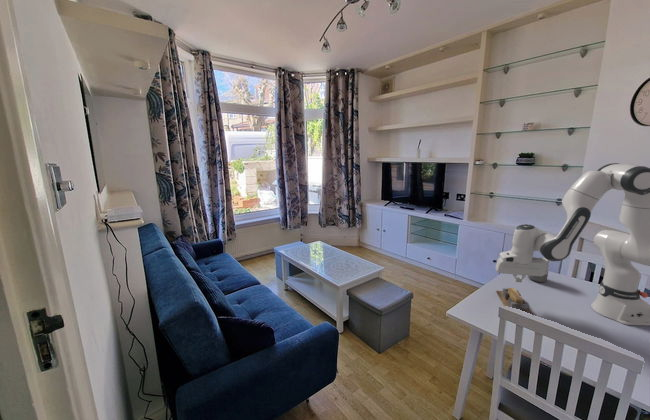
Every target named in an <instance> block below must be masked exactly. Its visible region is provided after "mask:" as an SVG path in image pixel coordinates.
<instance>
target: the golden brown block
mask: <svg viewBox="0 0 650 420" xmlns="http://www.w3.org/2000/svg"><path fill="white" fill-rule="evenodd" d="M507 289H508V298H511V299H512V300H513V302H515V303H523V298H522V296H520V295H521V294H520V295H519V294H518V292H519V291H518V292H517V291H516V290H517V289H516V288H514V287H507Z"/></svg>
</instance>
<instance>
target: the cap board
mask: <svg viewBox="0 0 650 420" xmlns="http://www.w3.org/2000/svg"><path fill="white" fill-rule="evenodd" d="M516 291H517V292H518V294H519V295H520V296H521V293H520V292H519V290H518V289H516ZM495 293H496V294H497V296H498V297H499V299H500V301H501V303H502V305H503V306H508V307H512V308H516V309H520V310H522V311H525V312H527V313H530V314H533V313H532V312H531V310H530V309H529V305H528V303H527V302H526V300H525V299H523V298H522V299H523V303H515V302H513V300H512V299H511V298H508V288H503V287H502V290H496V291H495ZM521 297H522V296H521Z"/></svg>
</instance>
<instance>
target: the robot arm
mask: <svg viewBox="0 0 650 420" xmlns="http://www.w3.org/2000/svg"><path fill="white" fill-rule="evenodd" d="M610 190H617V191H623V192H624V198H623V201H622V204H621V208H620V212H619V216H618V220H619V222H620V224H621V225H622V226H623V227H624V228H626V229H627V231H628V233H626V232H623V231H618V230H613V229H611V230H610V229H602V230H600V231H598V232H597V233H596V234H595V235H594V237H593V244H594V246H595V248H597V249H598V251H599V252H600V253H601V255H602V257H603V260H604V265H605V266H604V274H603V279H602V280H601V282H600V284H599V287H598V293H597V296H596V298H595V299H594V300H593V302H592V303H591V305H590V308H591V309H592V310H593V311H594V312H596V313H597V314H599V315H601V316H604V317H605V318H608V319H611V320H614V321H616V322H618V323H621V324H623V325H627V326H629V325H630V326H646V327H647V326H649V327H650V303H648V302H646V301H645V300H644V298H645V299H646V298H648V297H649V294H647V293H646V292H644V291H641V289H639V285H640V282H641V278H642V274H641V273H640V271H639V269H637V268H636V267H635V266H634V265H633V264H632V262H634V263H636V264H639V265H643V266H649V267H650V167H647V166H643V165H637V164H634V163H633V164H632V163H617V162H615V163H614V162H612V163H608V164H605V165H602V166H601V167H599V168H598V169H597V170H594V169H593V170H588V171H586V172H585V173H583V174H582V175H580V177H579V178H578V179H577V180H576V181H574V183H573V184H572V185H571V186H570V187H569V188H568V190H567V191H566V192H565V194H564V196H563V197H562V200H561V205H562V208H563V209H564V211H565V213H566V221H565V223H564V225H563V226H562V227H561V229H560V230H559V232H558V234H557V235H554V234H553V233H551V232H549V231H547V230H543V229H539V228H537V227H536V226H535V225H532V224H525V223H524V224H519V225H517V226H516V227H515V229H514V232H513V235H512V242H511V243H512V247H511V249H510V250H506V251H502V252H500V253H499V258H497V261H496V264H495V271H496V272H497V273H498V274H503V275H504V274H506V275H512V277H513V281H514V282H515V283H523V280H524V279H525V278H526V277H527V276H528V275H530V276H543V275H544V274H545V265H546V260H545V259H543V258H546V259H547V260H549V262H560V261H561V262H562V261H564V260H565V259H567V258H568V257H569V256H570V254H571V251H572V248H573V246H574V243H575V242H576V241H577V239H578V237H579V236H580V235H581V233H582V232H583V230H584V229H585V227H586V225H587V224H588V223H589V221H590V220H591V215H592V211H593V210H594V208H595V206H596V205H597V204H598V203H599V201H600V200H601V199H602V198H603V196H604V195H605V194H606V193H607V192H609V191H610ZM534 252H539V253H540V254H541V255H542V256H543V257H536V256H534ZM518 276H520V277H518Z"/></svg>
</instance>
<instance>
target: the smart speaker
mask: <svg viewBox="0 0 650 420" xmlns="http://www.w3.org/2000/svg"><path fill="white" fill-rule="evenodd" d="M542 258H543V259H545V260H546V265H545V274H544V275H543V276H530V275H527V277H528V279H529V280H531V281H533V282H536V283H544V282H546V281H547V279H548V275H549V266H550V265H549V263H550V260H547V259H546V258H545V257H542Z"/></svg>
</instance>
